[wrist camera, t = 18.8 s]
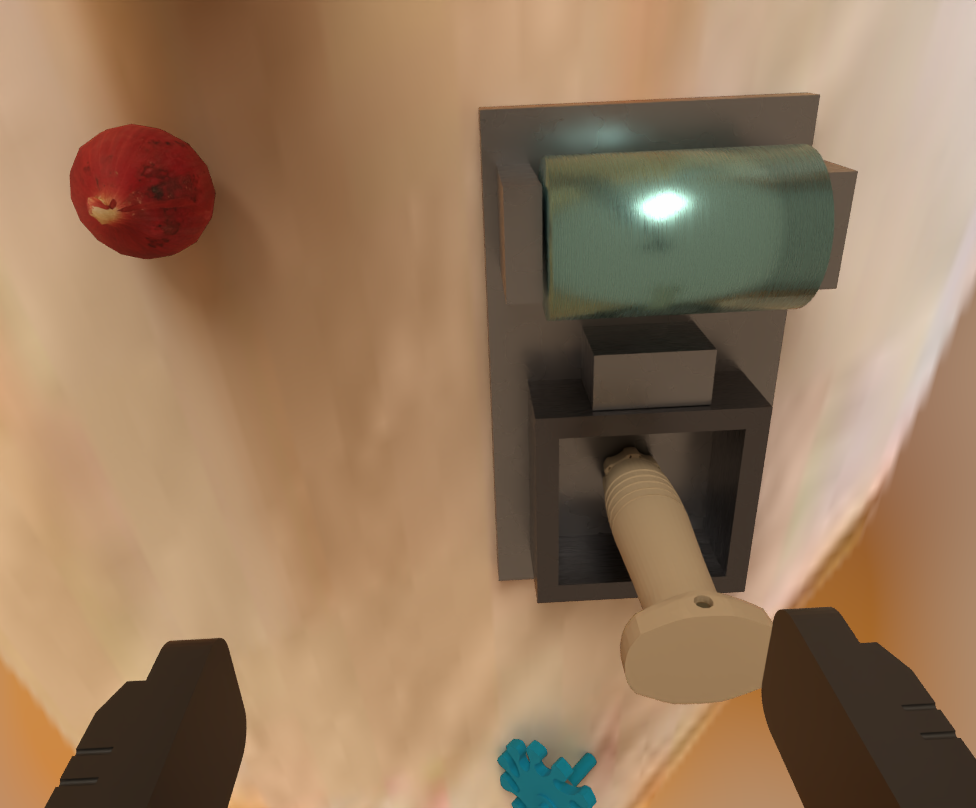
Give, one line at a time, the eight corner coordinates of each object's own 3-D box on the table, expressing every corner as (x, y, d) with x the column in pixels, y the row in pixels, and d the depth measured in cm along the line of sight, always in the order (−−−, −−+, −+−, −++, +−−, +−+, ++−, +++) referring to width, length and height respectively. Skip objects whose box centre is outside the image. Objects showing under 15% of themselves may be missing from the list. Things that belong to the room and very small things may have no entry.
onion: (210, 106, 35) (146, 124, 28) (248, 225, 37) (198, 269, 30) (93, 129, 35) (0, 152, 28) (139, 246, 38) (64, 294, 30)
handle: (677, 499, 44) (772, 700, 31) (572, 504, 44) (621, 707, 31) (685, 429, 42) (791, 612, 29) (574, 434, 42) (628, 619, 28)
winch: (497, 565, 48) (506, 686, 39) (478, 107, 35) (485, 130, 26) (739, 552, 48) (803, 669, 39) (806, 92, 35) (923, 110, 27)
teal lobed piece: (501, 724, 52) (613, 832, 47) (553, 676, 56) (662, 771, 51) (482, 803, 58) (580, 905, 53) (530, 755, 62) (625, 847, 57)
